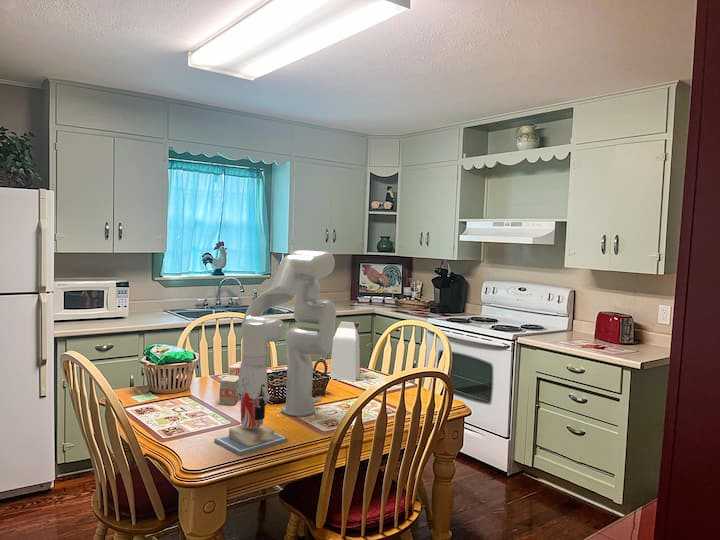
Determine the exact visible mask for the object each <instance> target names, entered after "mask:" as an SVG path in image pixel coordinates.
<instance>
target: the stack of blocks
mask: <svg viewBox="0 0 720 540" xmlns="http://www.w3.org/2000/svg"><path fill="white" fill-rule="evenodd" d="M241 363H242V360H239V361H237V362H235V363H234V364H232V365H231V366H229V367H228V368H229V369H228V375H226V376H224V377H223V378H222V379H220V381H219V402H218V404H219V405H220V404H221V405H229V406H235V405H236V404H237V403H239V402H241V400H240V395H239V393H238V388H237V385H238V378H239V370H240V366H241Z"/></svg>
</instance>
